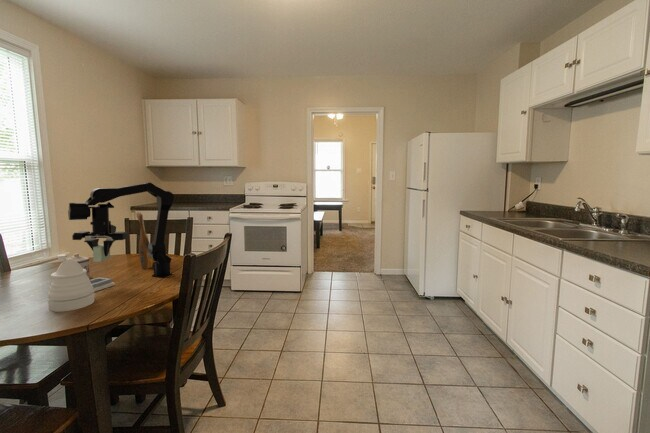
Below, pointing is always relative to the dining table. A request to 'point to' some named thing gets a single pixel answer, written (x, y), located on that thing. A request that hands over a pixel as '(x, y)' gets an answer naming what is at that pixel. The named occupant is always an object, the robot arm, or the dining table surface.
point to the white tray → (101, 283)
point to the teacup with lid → (82, 262)
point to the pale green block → (99, 253)
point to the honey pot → (69, 287)
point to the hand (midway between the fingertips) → (101, 256)
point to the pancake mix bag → (143, 245)
